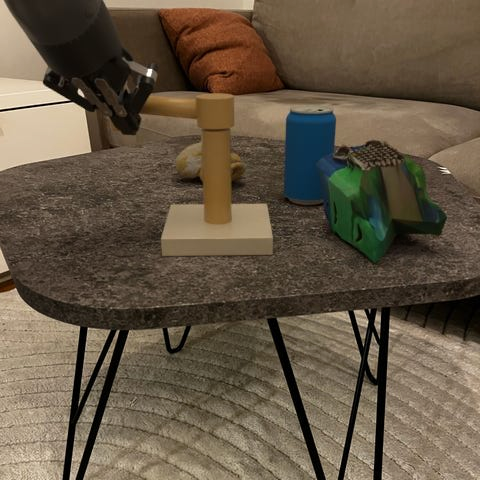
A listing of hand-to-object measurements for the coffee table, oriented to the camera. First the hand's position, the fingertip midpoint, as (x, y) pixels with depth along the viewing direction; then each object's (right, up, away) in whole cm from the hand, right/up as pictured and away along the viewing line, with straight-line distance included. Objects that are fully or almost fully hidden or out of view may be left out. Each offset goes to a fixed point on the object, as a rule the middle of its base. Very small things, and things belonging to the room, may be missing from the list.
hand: (131, 128), depth 68 cm
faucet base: (+10, -12, +1) cm, 16 cm away
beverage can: (+22, -6, +14) cm, 26 cm away
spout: (+5, -1, -2) cm, 5 cm away
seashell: (+8, 0, +23) cm, 24 cm away
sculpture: (+28, -13, 0) cm, 31 cm away
